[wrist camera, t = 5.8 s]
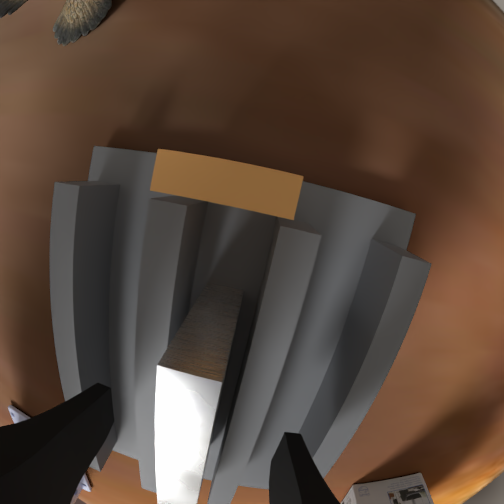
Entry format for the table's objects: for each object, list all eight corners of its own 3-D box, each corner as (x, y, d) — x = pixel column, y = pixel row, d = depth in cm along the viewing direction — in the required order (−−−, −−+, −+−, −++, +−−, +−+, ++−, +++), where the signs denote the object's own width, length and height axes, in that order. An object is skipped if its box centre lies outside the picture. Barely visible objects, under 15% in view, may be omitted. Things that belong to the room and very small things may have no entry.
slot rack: (291, 480, 16) (294, 559, 9) (102, 435, 16) (62, 501, 9) (405, 211, 12) (515, 240, 5) (105, 148, 12) (-9, 132, 5)
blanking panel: (210, 445, 14) (191, 529, 8) (185, 439, 14) (158, 520, 8) (243, 290, 12) (221, 382, 6) (207, 282, 12) (157, 365, 6)
